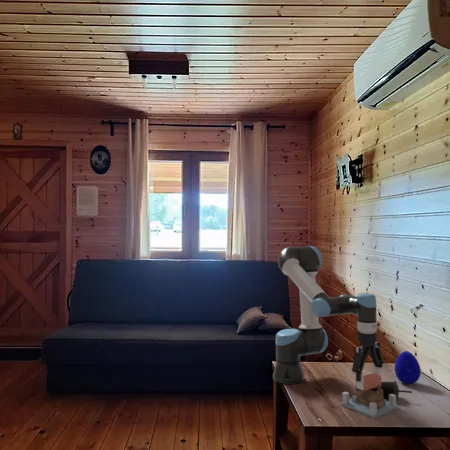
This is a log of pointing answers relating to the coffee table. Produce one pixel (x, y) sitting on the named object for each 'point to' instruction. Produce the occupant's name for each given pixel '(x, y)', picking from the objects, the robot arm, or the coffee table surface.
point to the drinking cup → (390, 389)
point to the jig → (372, 407)
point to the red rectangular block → (371, 381)
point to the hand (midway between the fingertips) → (368, 385)
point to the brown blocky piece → (371, 396)
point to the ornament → (407, 368)
